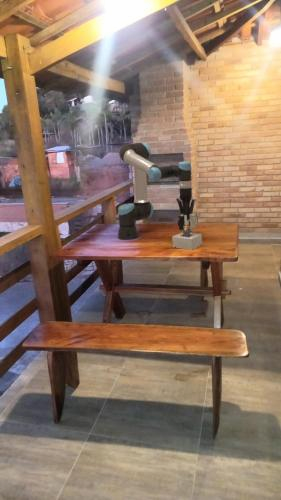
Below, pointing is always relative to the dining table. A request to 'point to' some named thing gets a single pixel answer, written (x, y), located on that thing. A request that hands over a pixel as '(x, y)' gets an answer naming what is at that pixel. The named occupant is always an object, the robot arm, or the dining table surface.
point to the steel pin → (186, 231)
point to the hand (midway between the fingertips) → (186, 224)
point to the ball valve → (192, 222)
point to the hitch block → (187, 241)
